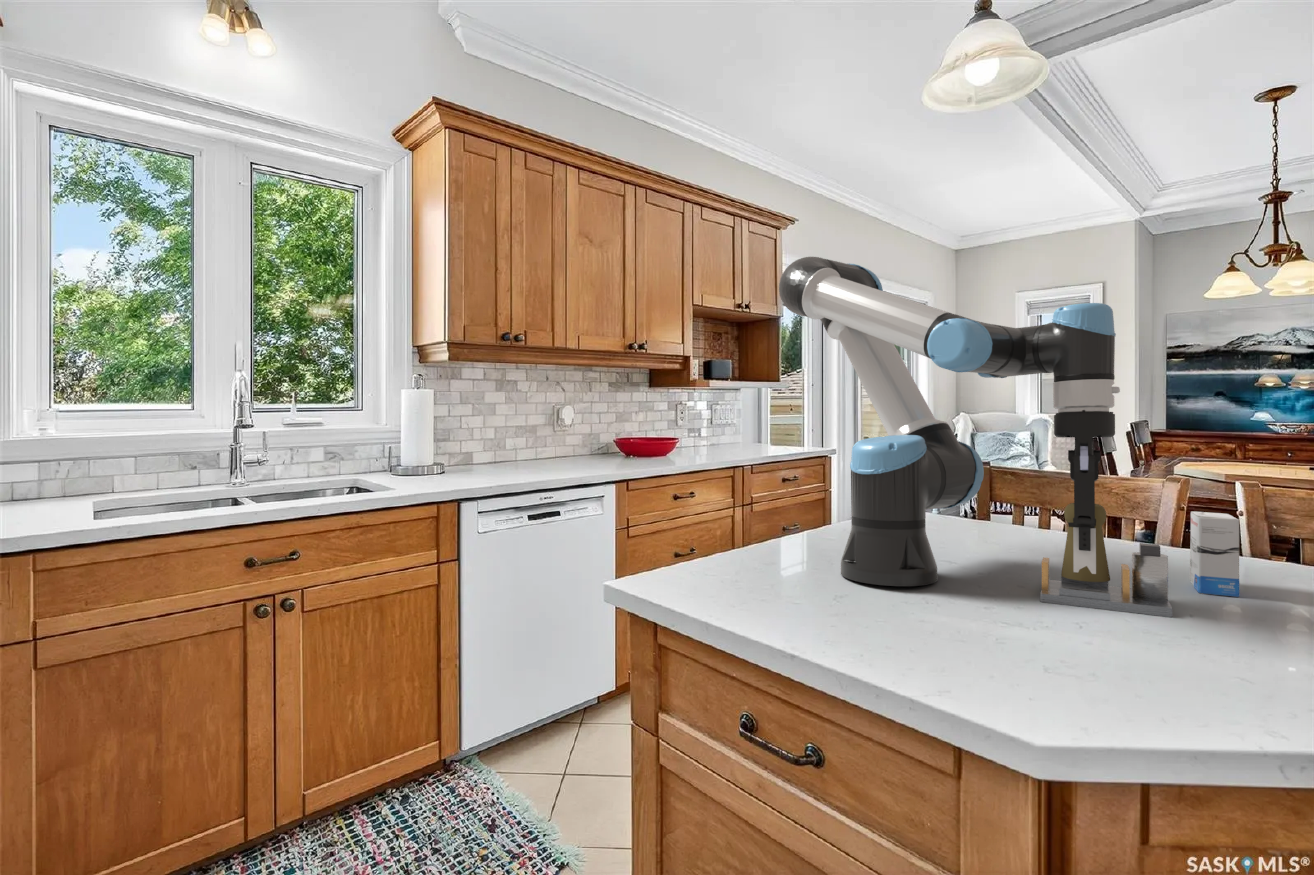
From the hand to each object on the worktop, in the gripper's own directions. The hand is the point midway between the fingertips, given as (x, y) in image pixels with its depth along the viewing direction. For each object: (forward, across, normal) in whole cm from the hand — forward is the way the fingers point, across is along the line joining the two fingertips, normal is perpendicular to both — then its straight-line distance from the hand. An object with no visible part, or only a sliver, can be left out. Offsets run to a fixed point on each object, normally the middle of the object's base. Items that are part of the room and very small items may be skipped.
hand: (1084, 569), depth 96 cm
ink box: (+5, +17, -17) cm, 24 cm away
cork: (+1, 0, 0) cm, 1 cm away
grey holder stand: (+4, 0, -2) cm, 5 cm away
